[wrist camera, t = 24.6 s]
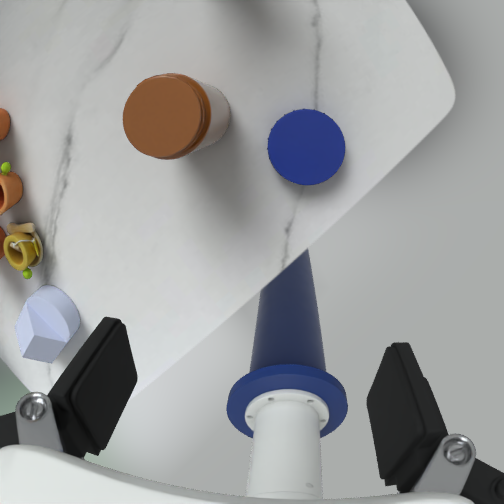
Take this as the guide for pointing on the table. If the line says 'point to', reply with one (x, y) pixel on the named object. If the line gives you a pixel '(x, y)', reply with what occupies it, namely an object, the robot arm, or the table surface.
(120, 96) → the table surface
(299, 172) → the lid
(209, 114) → the jar
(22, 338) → the wedge on round base
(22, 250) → the toy tea set
